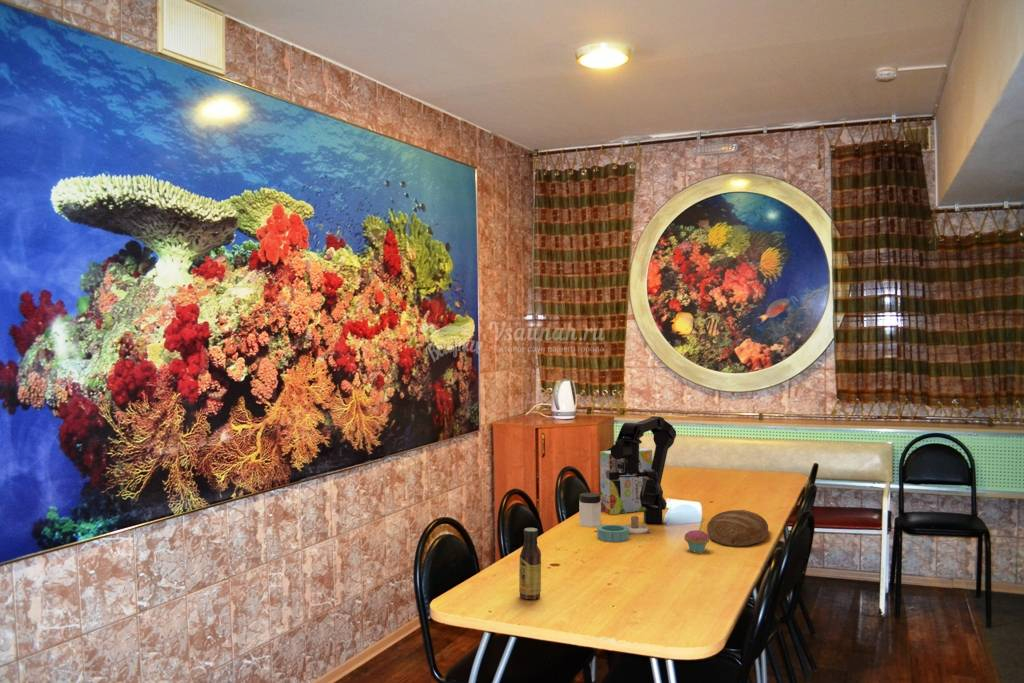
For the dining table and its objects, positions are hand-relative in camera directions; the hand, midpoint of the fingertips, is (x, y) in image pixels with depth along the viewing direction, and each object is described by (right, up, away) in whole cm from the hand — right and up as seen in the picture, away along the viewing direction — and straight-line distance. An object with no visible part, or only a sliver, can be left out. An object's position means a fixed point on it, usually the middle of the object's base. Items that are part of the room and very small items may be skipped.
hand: (631, 497), depth 323 cm
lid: (+1, -13, 0) cm, 13 cm away
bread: (+39, -14, -5) cm, 42 cm away
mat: (+1, -13, 0) cm, 13 cm away
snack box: (+3, -13, +36) cm, 38 cm away
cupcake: (+19, -14, -27) cm, 36 cm away
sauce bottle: (-40, -15, -78) cm, 89 cm away
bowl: (-8, -13, -12) cm, 20 cm away
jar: (-15, -13, +10) cm, 22 cm away
